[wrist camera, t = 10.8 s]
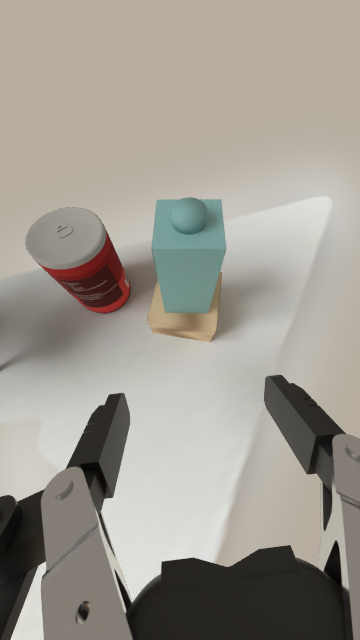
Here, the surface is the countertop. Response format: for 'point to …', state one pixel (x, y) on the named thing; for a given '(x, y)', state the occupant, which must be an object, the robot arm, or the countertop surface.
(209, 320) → the wooden block
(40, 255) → the canned food
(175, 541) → the countertop surface
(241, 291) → the countertop surface
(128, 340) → the countertop surface
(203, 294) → the teal brick
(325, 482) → the robot arm
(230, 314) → the countertop surface
